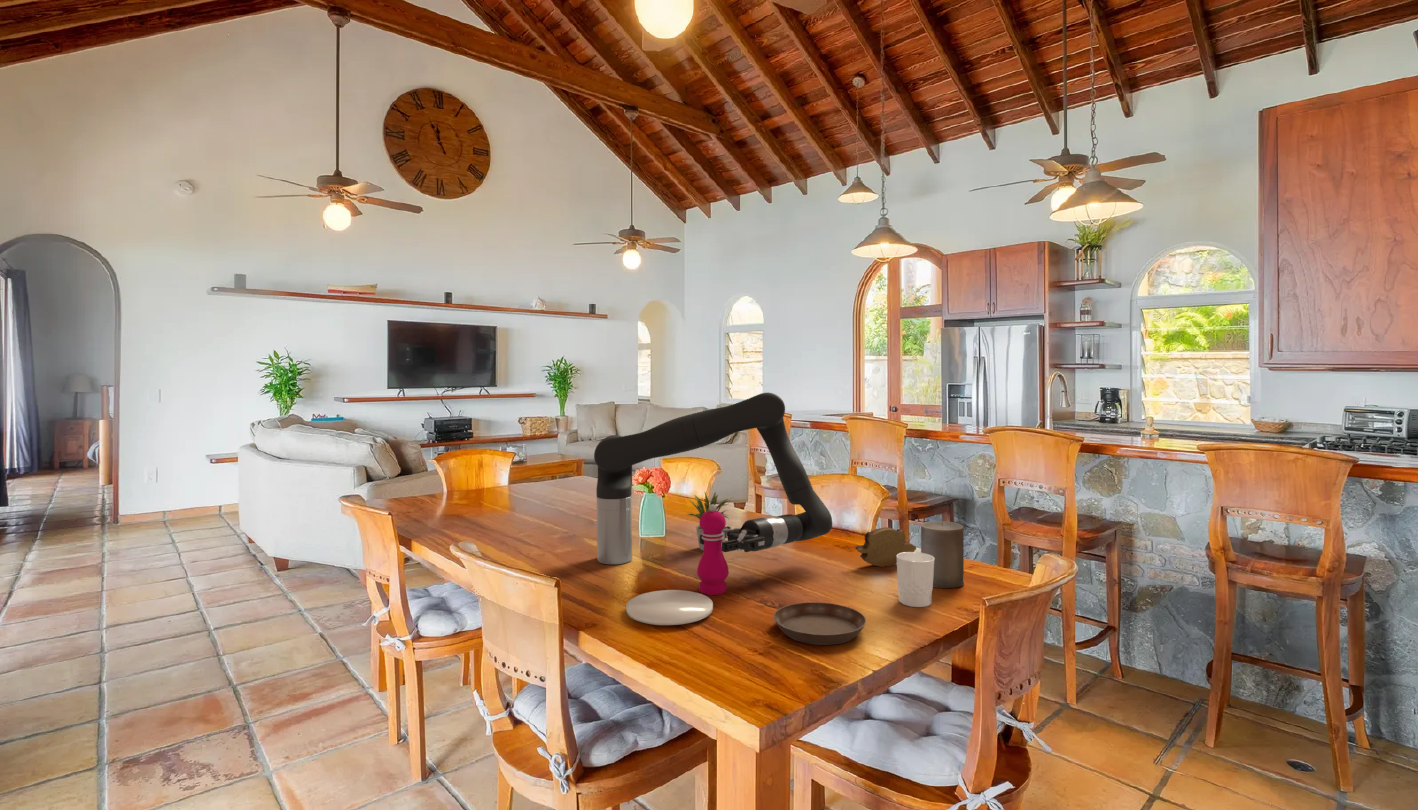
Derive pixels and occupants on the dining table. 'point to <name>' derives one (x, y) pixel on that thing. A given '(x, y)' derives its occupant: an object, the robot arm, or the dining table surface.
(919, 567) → the white cup
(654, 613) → the plate
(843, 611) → the plant saucer
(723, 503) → the house plant
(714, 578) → the pepper mill
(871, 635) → the dining table surface
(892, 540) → the wooden carving
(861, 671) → the dining table surface
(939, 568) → the pillar candle
